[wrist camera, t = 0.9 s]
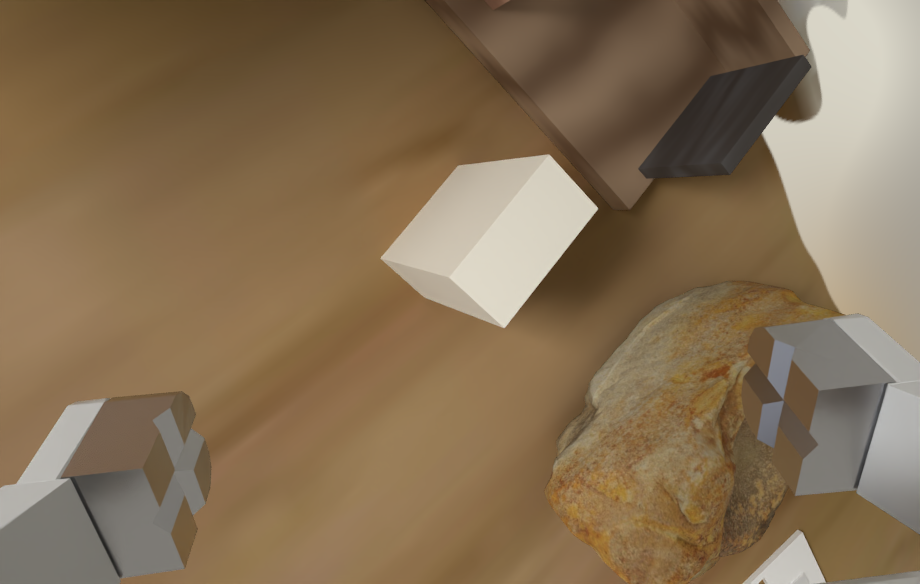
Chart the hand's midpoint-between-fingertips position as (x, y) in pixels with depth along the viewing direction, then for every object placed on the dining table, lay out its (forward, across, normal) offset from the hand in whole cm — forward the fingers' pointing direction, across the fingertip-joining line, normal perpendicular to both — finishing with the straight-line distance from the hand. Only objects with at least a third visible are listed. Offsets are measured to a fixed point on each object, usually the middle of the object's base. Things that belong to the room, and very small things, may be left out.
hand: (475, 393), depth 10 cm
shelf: (+42, -11, +2) cm, 43 cm away
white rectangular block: (+34, 0, +13) cm, 36 cm away
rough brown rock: (+33, -14, +31) cm, 47 cm away
